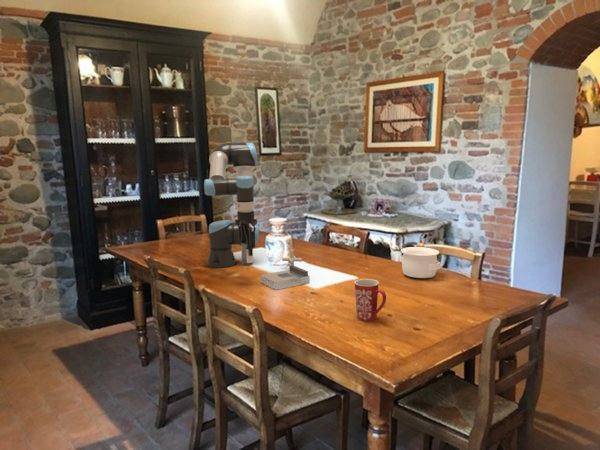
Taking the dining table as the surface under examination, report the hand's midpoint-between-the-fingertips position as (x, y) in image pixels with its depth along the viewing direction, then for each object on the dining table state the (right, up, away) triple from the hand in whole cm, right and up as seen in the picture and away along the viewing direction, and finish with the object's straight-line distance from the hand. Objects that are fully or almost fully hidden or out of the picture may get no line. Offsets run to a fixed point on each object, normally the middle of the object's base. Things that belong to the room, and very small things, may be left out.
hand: (247, 260), depth 214 cm
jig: (+17, -10, +3) cm, 20 cm away
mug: (+50, -18, -42) cm, 68 cm away
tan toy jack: (+20, -6, +26) cm, 33 cm away
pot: (+81, -8, +11) cm, 83 cm away
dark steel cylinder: (0, -2, 0) cm, 2 cm away
